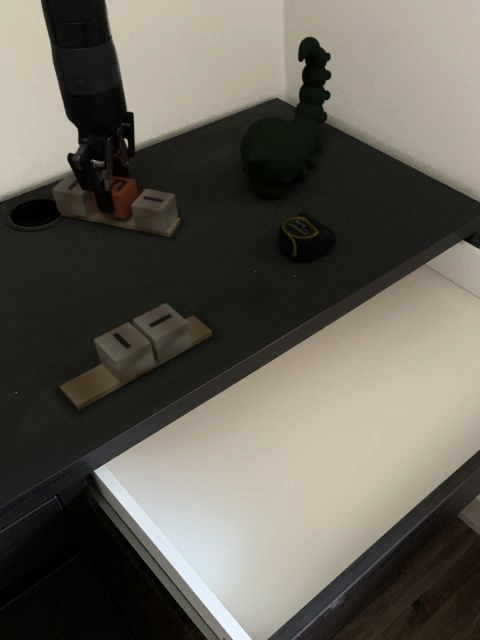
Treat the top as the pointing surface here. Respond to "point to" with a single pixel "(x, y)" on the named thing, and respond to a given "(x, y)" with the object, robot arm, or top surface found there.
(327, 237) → the tape measure
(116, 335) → the word
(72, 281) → the top surface
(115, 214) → the orange block
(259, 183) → the toy figurine
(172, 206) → the word
